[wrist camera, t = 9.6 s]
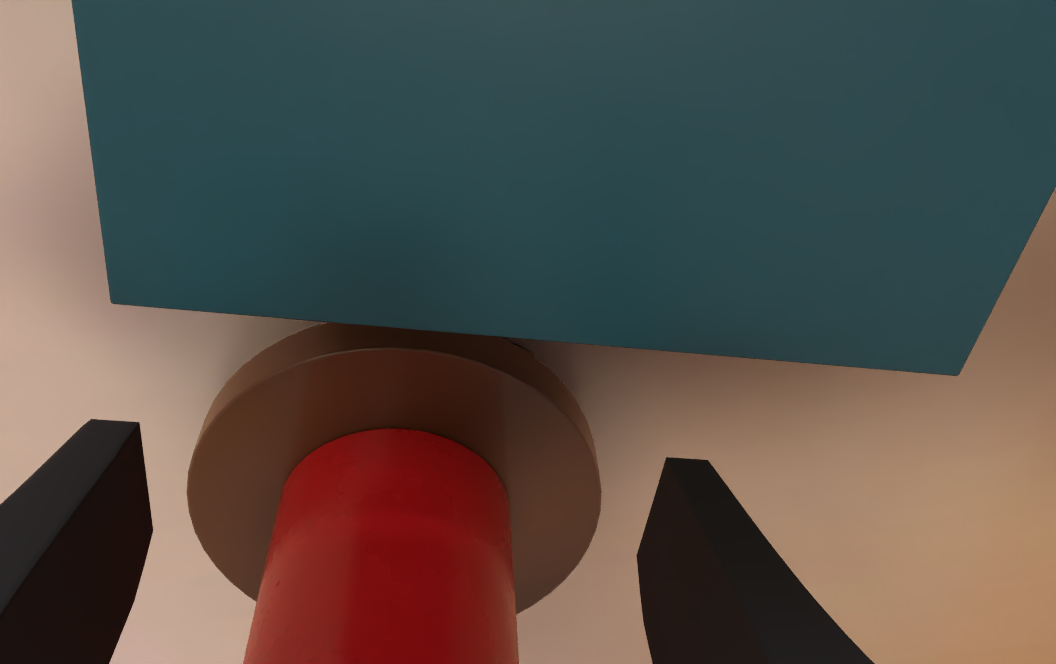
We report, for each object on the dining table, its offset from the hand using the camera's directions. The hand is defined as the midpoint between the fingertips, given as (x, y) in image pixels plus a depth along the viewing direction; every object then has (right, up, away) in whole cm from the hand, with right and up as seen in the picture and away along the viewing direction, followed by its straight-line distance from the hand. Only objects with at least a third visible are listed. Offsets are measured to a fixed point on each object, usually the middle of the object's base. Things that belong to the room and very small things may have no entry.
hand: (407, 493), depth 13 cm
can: (-1, -2, +7) cm, 8 cm away
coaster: (-1, 0, +10) cm, 10 cm away
